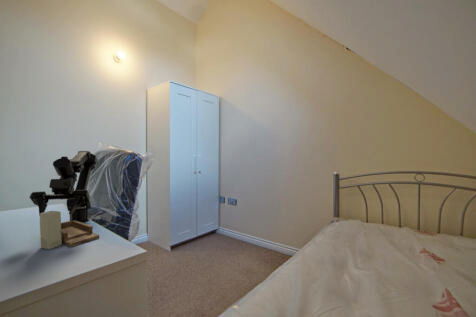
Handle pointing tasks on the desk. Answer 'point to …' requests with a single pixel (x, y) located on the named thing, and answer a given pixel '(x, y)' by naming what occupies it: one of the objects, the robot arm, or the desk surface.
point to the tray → (76, 233)
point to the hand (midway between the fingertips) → (55, 215)
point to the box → (50, 229)
